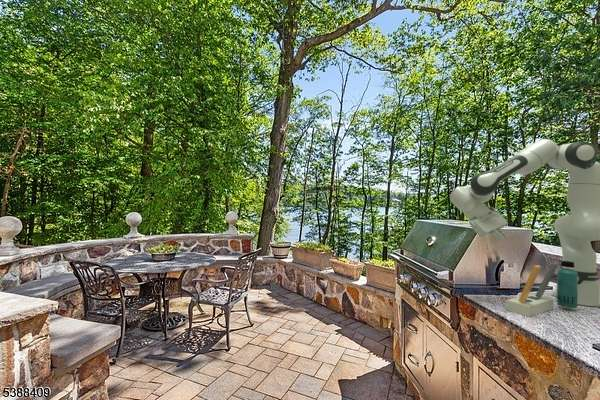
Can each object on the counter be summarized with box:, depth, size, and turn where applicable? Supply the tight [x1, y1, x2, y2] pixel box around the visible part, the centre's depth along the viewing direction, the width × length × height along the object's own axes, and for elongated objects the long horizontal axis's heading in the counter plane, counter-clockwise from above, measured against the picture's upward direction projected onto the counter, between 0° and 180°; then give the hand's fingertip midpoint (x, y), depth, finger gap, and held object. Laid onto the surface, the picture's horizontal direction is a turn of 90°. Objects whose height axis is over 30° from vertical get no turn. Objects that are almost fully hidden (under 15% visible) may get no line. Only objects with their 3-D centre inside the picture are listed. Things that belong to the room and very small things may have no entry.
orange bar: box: [518, 264, 542, 303], centre depth 113 cm, size 3×1×16 cm, turn 118°
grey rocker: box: [535, 262, 559, 297], centre depth 120 cm, size 3×1×16 cm, turn 118°
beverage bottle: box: [556, 260, 578, 309], centre depth 119 cm, size 6×7×20 cm
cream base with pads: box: [505, 292, 554, 318], centre depth 119 cm, size 20×8×4 cm, turn 118°
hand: (504, 238), depth 126 cm, fingers closed
